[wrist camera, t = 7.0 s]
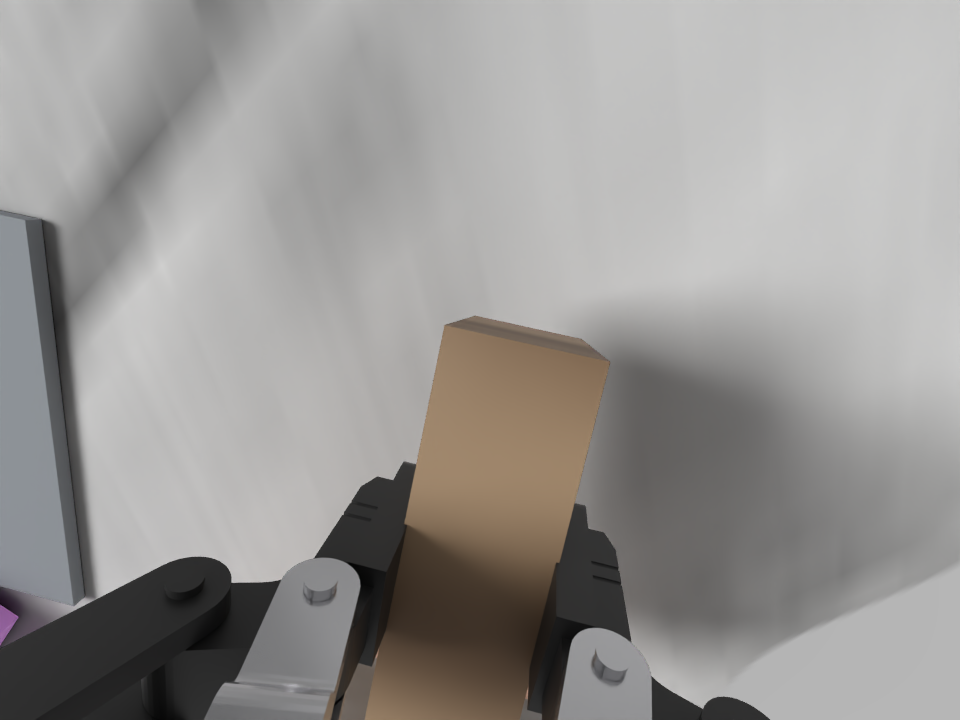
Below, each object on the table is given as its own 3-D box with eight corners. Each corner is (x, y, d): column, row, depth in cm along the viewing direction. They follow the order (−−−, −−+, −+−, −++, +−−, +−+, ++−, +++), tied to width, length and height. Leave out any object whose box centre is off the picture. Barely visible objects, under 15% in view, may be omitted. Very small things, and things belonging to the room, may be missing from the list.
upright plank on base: (406, 300, 14) (338, 301, 9) (654, 355, 14) (725, 387, 9) (334, 675, 16) (244, 848, 11) (553, 736, 15) (563, 946, 10)
